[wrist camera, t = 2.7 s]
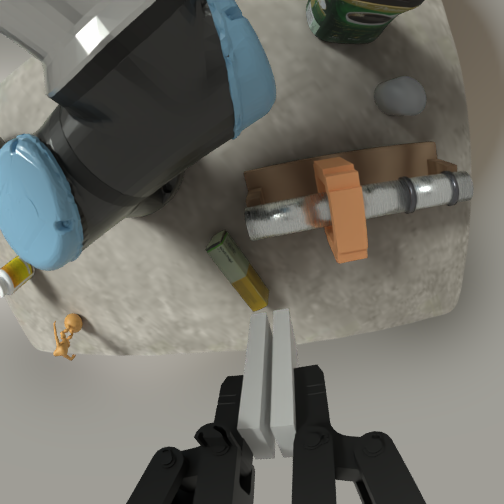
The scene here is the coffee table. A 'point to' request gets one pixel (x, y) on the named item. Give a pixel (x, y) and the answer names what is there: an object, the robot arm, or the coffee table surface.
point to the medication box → (238, 270)
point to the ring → (343, 208)
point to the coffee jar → (354, 18)
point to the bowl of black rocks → (1, 143)
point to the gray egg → (400, 96)
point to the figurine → (72, 325)
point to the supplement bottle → (14, 275)
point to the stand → (365, 162)
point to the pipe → (375, 203)
